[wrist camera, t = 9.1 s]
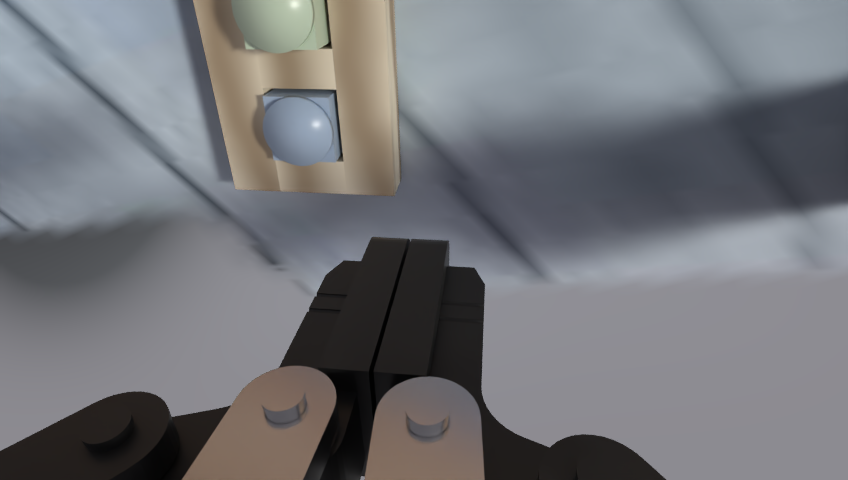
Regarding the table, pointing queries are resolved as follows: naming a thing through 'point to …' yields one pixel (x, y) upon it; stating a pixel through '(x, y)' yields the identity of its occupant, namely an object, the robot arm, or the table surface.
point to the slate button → (302, 125)
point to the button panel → (311, 69)
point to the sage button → (282, 24)
